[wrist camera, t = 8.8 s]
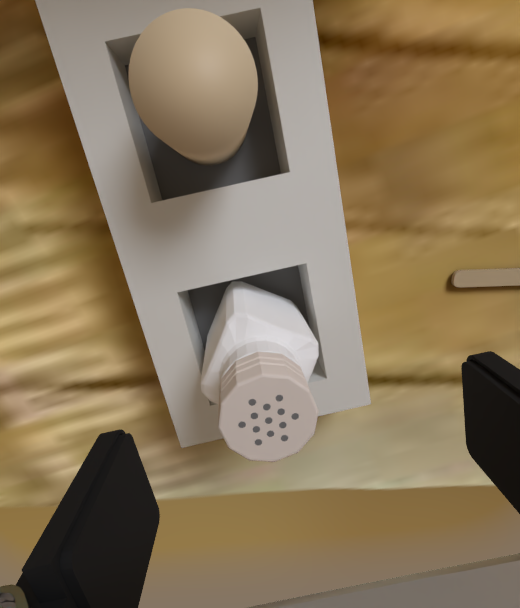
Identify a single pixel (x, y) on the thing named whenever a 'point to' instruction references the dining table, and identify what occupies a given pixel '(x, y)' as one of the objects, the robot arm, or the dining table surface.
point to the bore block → (213, 176)
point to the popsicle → (486, 277)
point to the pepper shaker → (260, 373)
